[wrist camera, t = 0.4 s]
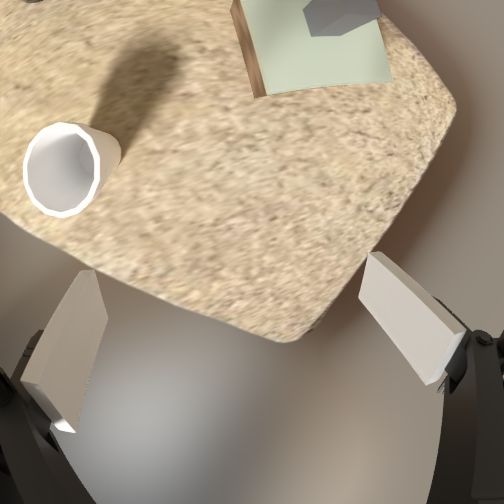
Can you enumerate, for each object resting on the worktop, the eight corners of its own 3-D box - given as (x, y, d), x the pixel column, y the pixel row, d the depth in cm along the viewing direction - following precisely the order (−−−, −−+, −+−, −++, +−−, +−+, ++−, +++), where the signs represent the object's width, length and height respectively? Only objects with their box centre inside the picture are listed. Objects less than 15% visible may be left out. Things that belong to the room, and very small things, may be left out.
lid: (233, -20, 19) (248, -66, 10) (354, -20, 20) (397, -48, 11) (266, 95, 26) (297, 82, 17) (385, 83, 26) (440, 79, 18)
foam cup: (73, 124, 30) (22, 128, 18) (133, 119, 32) (101, 117, 20) (72, 189, 34) (27, 218, 22) (131, 188, 36) (101, 218, 24)
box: (230, 10, 27) (239, -18, 19) (323, 4, 28) (351, -18, 20) (254, 98, 33) (270, 90, 25) (346, 85, 34) (381, 79, 26)
